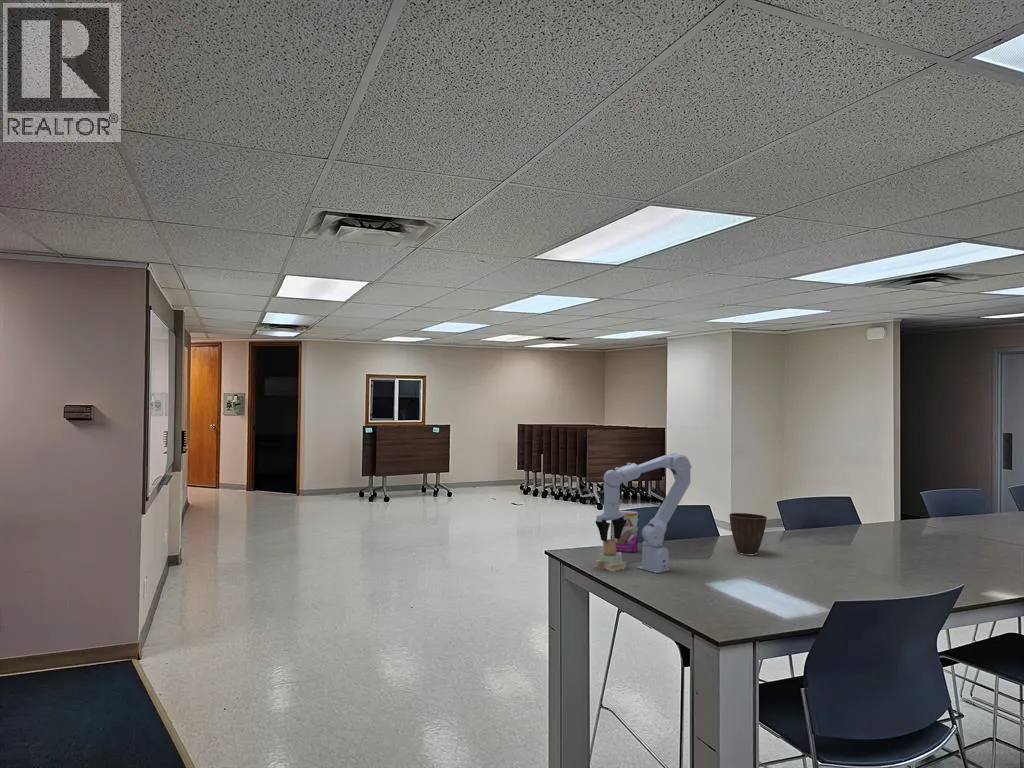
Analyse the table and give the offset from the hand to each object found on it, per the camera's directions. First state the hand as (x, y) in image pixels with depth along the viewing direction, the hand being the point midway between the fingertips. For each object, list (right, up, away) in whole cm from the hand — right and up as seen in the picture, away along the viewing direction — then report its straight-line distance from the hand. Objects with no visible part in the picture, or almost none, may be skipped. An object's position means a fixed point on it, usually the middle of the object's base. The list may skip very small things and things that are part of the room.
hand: (610, 539), depth 251 cm
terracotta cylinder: (0, -5, 0) cm, 5 cm away
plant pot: (+62, -14, +34) cm, 73 cm away
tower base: (0, -11, 0) cm, 11 cm away
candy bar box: (+10, -12, +30) cm, 34 cm away
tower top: (0, -8, 0) cm, 8 cm away
